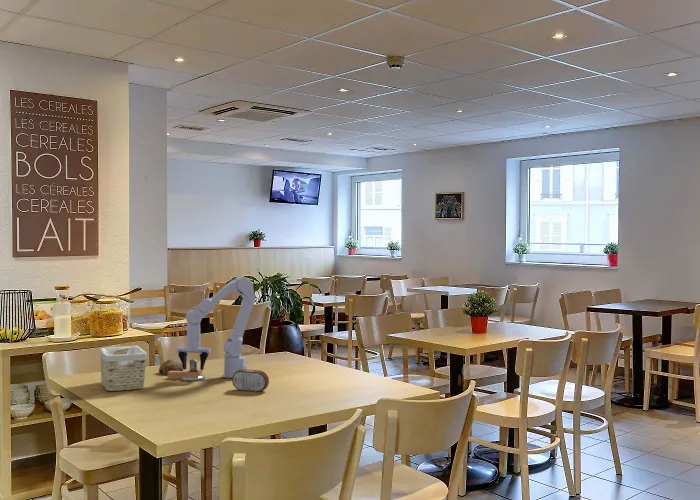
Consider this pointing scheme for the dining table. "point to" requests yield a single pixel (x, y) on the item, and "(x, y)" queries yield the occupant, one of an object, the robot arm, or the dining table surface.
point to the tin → (250, 380)
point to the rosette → (193, 378)
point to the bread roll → (170, 366)
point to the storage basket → (123, 368)
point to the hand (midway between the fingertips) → (193, 369)
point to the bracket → (184, 374)
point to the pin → (193, 365)
